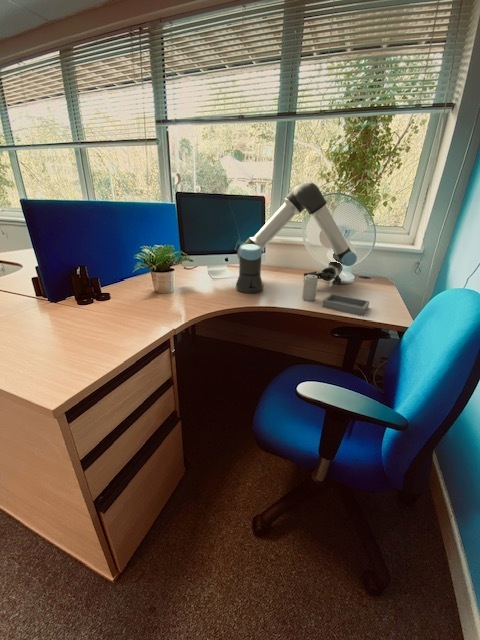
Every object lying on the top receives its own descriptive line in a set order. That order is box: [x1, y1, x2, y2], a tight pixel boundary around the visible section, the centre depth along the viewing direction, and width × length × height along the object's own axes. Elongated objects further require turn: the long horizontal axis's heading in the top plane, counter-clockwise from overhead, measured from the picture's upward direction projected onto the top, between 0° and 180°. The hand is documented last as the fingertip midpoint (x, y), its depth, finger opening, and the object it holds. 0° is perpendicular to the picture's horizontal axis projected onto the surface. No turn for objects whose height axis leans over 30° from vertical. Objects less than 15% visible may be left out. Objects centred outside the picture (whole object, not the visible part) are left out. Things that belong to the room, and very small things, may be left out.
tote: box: [321, 293, 370, 317], centre depth 123 cm, size 18×12×3 cm, turn 55°
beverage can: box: [302, 275, 319, 302], centre depth 130 cm, size 6×6×12 cm
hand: (316, 281), depth 136 cm, fingers open, 13 cm apart
